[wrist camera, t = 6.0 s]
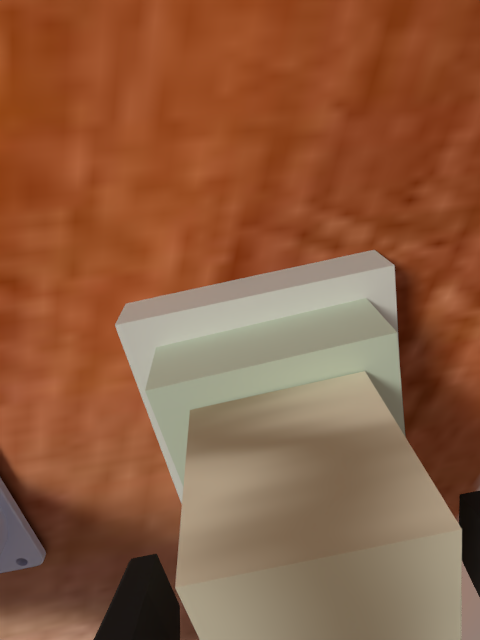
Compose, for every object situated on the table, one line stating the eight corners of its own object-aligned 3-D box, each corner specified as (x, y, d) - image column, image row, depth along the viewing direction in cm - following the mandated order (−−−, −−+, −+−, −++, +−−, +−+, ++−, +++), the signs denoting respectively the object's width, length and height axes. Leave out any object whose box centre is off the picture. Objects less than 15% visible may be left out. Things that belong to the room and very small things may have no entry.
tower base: (190, 473, 19) (187, 518, 17) (129, 296, 16) (114, 325, 13) (382, 434, 19) (405, 475, 17) (367, 244, 15) (394, 265, 13)
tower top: (210, 497, 17) (210, 554, 14) (155, 347, 14) (144, 390, 11) (383, 459, 16) (411, 512, 14) (365, 297, 13) (397, 332, 11)
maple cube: (230, 528, 14) (239, 722, 9) (189, 409, 12) (174, 587, 7) (379, 497, 14) (460, 681, 9) (364, 370, 12) (462, 529, 7)
